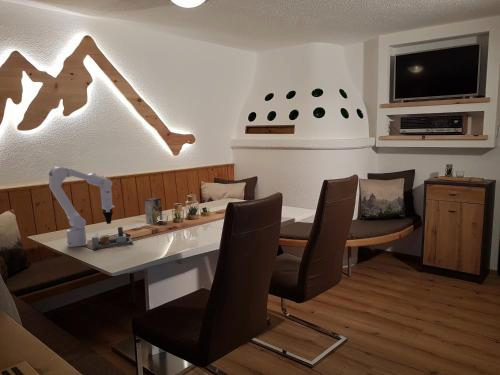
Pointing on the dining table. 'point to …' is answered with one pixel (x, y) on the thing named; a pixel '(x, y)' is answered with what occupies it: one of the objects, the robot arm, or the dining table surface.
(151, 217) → the coffee box
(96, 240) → the press frame
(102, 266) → the dining table surface
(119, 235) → the ram
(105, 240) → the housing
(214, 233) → the dining table surface
